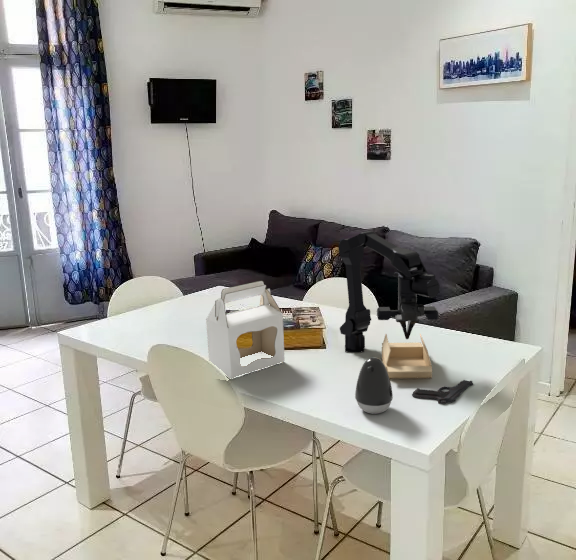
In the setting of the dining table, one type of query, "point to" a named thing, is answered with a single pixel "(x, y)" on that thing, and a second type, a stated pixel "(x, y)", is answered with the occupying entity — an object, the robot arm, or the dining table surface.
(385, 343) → the flap
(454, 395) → the handgun
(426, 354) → the flap
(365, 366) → the dark grey egg device
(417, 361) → the carton
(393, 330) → the dining table surface
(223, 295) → the gable box
